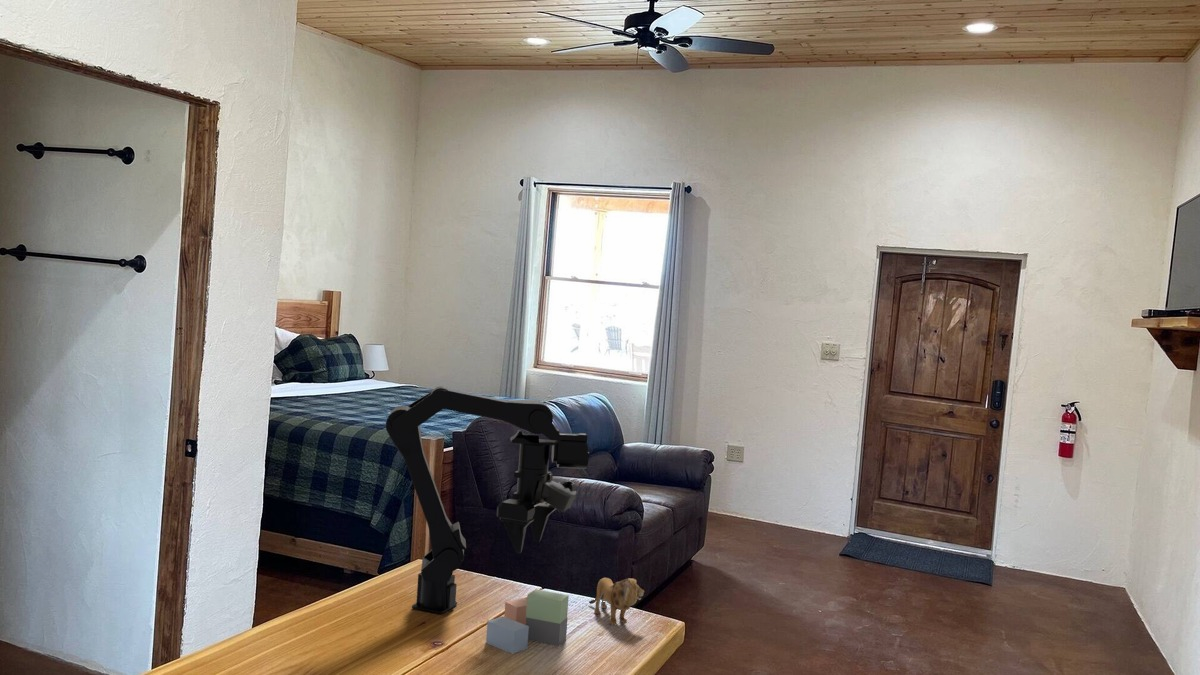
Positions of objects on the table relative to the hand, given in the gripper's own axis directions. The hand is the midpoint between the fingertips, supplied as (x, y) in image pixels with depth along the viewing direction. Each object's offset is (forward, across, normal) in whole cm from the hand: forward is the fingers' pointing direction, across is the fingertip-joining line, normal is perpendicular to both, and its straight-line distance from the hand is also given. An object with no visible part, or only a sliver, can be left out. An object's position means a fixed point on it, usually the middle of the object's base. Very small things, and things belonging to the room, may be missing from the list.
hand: (528, 547), depth 179 cm
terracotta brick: (+12, -7, -3) cm, 14 cm away
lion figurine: (+12, +4, -17) cm, 21 cm away
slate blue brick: (+12, -19, -5) cm, 23 cm away
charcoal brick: (+12, -13, -10) cm, 20 cm away
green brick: (+8, -13, -10) cm, 18 cm away
